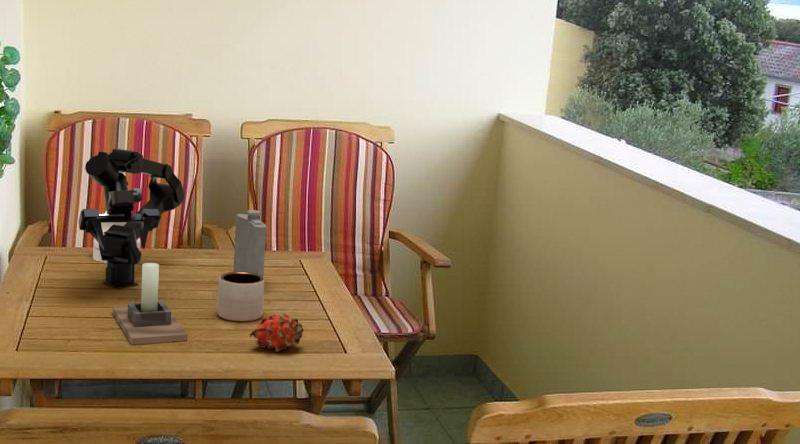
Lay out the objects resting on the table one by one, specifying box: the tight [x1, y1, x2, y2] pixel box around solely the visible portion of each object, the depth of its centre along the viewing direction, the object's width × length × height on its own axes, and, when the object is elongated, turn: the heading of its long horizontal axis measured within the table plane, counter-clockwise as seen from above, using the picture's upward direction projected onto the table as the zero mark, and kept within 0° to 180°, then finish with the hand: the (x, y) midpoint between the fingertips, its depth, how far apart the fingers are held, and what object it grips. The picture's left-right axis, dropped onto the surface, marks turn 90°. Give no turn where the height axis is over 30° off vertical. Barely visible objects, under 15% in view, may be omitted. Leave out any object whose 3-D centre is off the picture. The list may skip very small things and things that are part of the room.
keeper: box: [112, 301, 188, 346], centre depth 214 cm, size 22×12×4 cm, turn 27°
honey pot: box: [92, 209, 141, 264], centre depth 267 cm, size 13×13×18 cm
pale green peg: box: [140, 262, 160, 312], centre depth 213 cm, size 4×4×13 cm
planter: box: [216, 271, 266, 323], centre depth 227 cm, size 11×11×10 cm
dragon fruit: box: [249, 312, 305, 353], centre depth 208 cm, size 8×8×12 cm
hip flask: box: [232, 209, 267, 278], centre depth 253 cm, size 16×4×20 cm, turn 31°
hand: (124, 248), depth 227 cm, fingers open, 9 cm apart
